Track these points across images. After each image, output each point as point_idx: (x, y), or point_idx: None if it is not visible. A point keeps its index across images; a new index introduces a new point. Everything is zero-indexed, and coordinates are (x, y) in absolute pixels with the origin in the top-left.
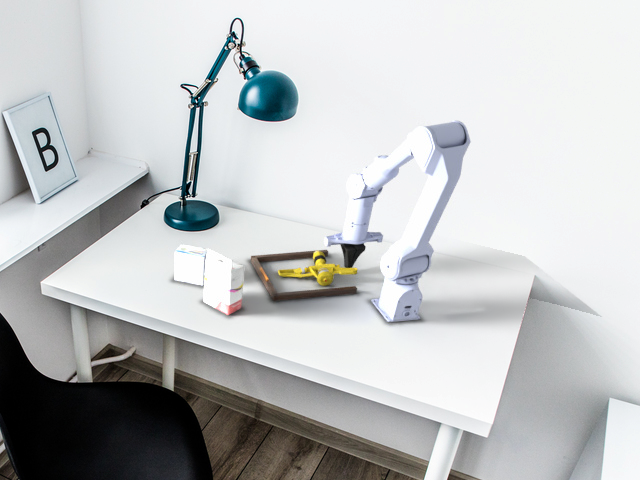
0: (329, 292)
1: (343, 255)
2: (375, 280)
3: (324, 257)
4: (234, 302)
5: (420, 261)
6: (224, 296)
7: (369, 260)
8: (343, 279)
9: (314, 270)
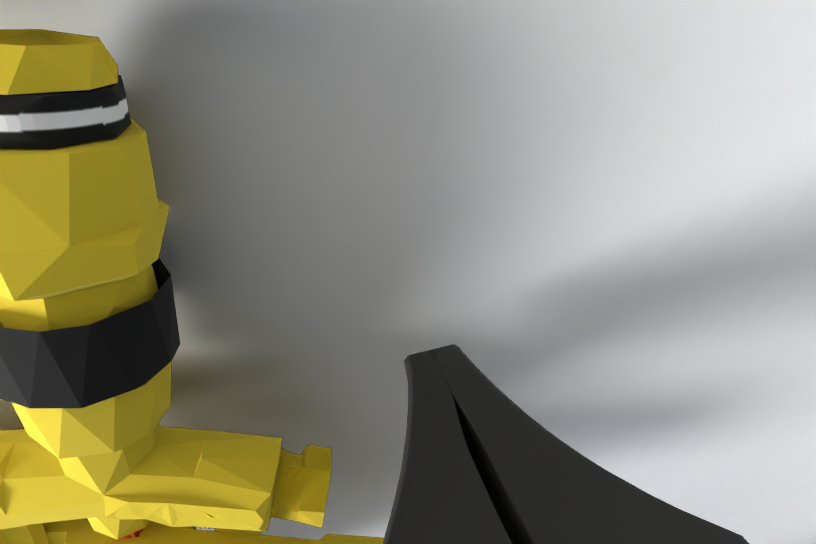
0: None
1: (404, 455)
2: (619, 425)
3: (129, 329)
4: None
5: None
6: None
7: (769, 68)
8: (360, 450)
9: (18, 533)
